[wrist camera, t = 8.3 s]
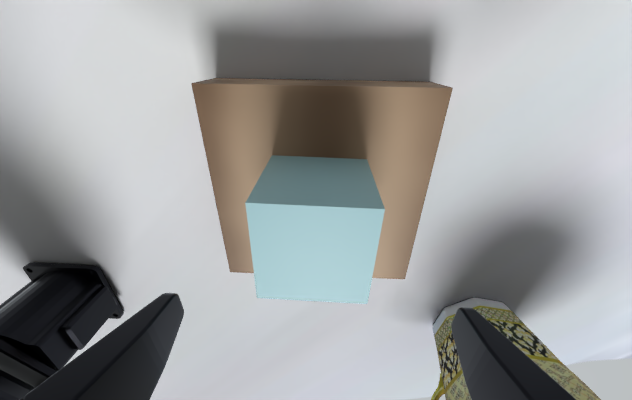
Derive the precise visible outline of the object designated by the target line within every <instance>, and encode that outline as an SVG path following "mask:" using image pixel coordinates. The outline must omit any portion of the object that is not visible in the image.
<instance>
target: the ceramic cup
mask: <svg viewBox="0 0 632 400" xmlns="http://www.w3.org/2000/svg"><path fill="white" fill-rule="evenodd" d="M460 307H466V308H473V309H475V310H476V311H477V312H478V313H480V314H481V315H482V316H483V317H484V318H485V319H486V320H487V321H489V322H490V323H491V324H492V325H493V326H494V327H495V328H496V329H498V330H499V331H500V332H501V333H502V334H503V335H504V336H505V337H507V338H508V339H509V340H510V341H511V342H512V343H513V344H514V345H516V346H517V347H518V348H519V349H520V350H521V351H522V352H523V353H525V354H526V355H527V356H528V357H529V358H530V359H531V360H532V361H534V362H535V363H536V364H537V365H538V366H539V367H540V368H541V369H543V370H544V371H545V372H546V373H547V374H548V375H549V376H550V377H552V378H553V379H554V380H555V381H556V382H557V383H558V384H559V385H561V386H562V387H563V388H564V389H565V390H566V391H567V392H568V393H570V394H571V395H572V396H573V397H574V398H575V399H576V400H601V399H600V398H599V397H598V396H597V395H596V394H595V393H594V392H593V391H592V390H591V389H590V388H589V387H588V386H586V384H585V383H584V382H582V381H581V380H580V379H579V378H578V377H577V376H576V375H575V374H574V373H573V372H571V371H570V370H569V369H568V368H567V367H566V366H565V365H564V364H563V363H562V362H560V360H559V359H558V358H557V357H556V356H555V355H554V354H553V353H552V352H551V351H550V350H549V349H548V348H547V347H546V346H545V345H544V344H543V343H542V342H541V341H540V340H539V339H538V338H537V337H536V336H535V335H534V334H533V333H532V332H531V331H530V330H529V329H528V328H527V327H526V326H525V325H524V323H523V322H522V321H521V320H520V319H519V318H518V317H517V316H516V315H515V314H514V313H513V312H512V311H511V310H510V309H509V308H508V307H507V306H506V305H505V304H504V303H502V302H499V301H493V300H487V299H481V298H470V299H468V300H465V301H462V302H459V303H456V304H454V305H451V306H448V307H445V308H444V309H443V311H442V312H441V314H440V315H439V317H438V318H437V320H436V321H435V323H434V325H433V332H434V337H435V341H436V346H437V351H438V358H439V364H440V369H441V374H440V381H439V385H438V388H437V389H436V391H435V392H434V394H433V396H432V399H431V400H439V398H440V397H441V396H442V395H443V394H445V397H446V400H472V399H471V396H470V394H469V391H468V388H467V385H466V382H465V379H464V375H463V371H462V368H461V364H460V360H459V356H458V353H457V349H456V345H455V341H454V338H453V334H452V329H451V324H452V321H453V319H454V316H455V314H456V312H457V310H458V308H460Z"/></svg>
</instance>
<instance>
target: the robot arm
mask: <svg viewBox="0 0 632 400" xmlns="http://www.w3.org/2000/svg"><path fill="white" fill-rule="evenodd" d="M23 269H24V271H25V272H26V274H27V275H28V276H29V278H30V279H31V282H30V283H28V284H27V285H26V286H25V287H23V288H22V289H21V290H19V291H18V292H17V293H15V294H14V295H13V296H12V297H10V298H9V299H8V300H6V301H5V302H4V303H2V304H1V305H0V400H150V397H151V395H152V393H153V391H154V389H155V387H156V385H157V383H158V380H159V378H160V376H161V374H162V372H163V370H164V367H165V365H166V362H167V360H168V357H169V355H170V352H171V349H172V346H173V344H174V341H175V338H176V335H177V332H178V330H179V327H180V324H181V321H182V319H183V315H184V309H183V306H182V304H181V301H180V298H179V296H178V295H177V294H175V293H164V294H162V295H161V296H159V297H158V298H157V299H155V300H154V301H152V302H151V303H150V304H148V305H147V306H146V307H144V308H143V309H142V310H140V311H139V312H138V313H136V314H135V315H133V316H132V317H131V318H129V319H128V320H127V321H125V322H124V323H123V324H121V325H120V326H119V327H117V328H116V329H114V330H113V331H112V332H110V333H109V334H108V335H106V336H105V337H104V338H102V339H101V340H100V341H98V342H97V343H95V344H94V345H93V346H91V347H90V348H89V349H87V350H86V351H85V352H83V353H82V354H81V355H79V356H78V357H76V358H75V359H74V360H72V361H71V362H70V363H68V364H67V365H66V366H65V364H66V363H67V362H68V361H69V360H70V359H71V357H72V356H73V355H74V354H75V353H76V351H77V350H81V349H83V348H84V347H85V346H86V344H87V343H88V342H89V341H90V340H91V338H92V337H93V336H94V335H95V334H96V332H97V331H98V330H99V329H100V328H101V326H102V325H103V324H104V323H105V322H106V320H107V319H108V318H116V319H118V318H121V316H122V315H123V314H124V312H123V310H122V308H121V306H120V304H119V303H118V301H117V299H116V297H115V295H114V293H113V291H112V290H111V288H110V286H109V284H108V282H107V280H106V278H105V276H104V275H103V273H102V271H101V269H100V268H99V267H97V266H94V265H71V264H47V263H29V264H27V265H26V266H24V267H23ZM451 329H452V334H453V338H454V341H455V345H456V349H457V353H458V356H459V360H460V364H461V368H462V371H463V375H464V379H465V382H466V385H467V388H468V391H469V394H470V396H471V399H472V400H576V399H575V398H574V397H573V396H572V395H571V394H570V393H568V392H567V391H566V390H565V389H564V388H563V387H562V386H561V385H559V384H558V383H557V382H556V381H555V380H554V379H553V378H552V377H550V376H549V375H548V374H547V373H546V372H545V371H544V370H543V369H541V368H540V367H539V366H538V365H537V364H536V363H535V362H534V361H532V360H531V359H530V358H529V357H528V356H527V355H526V354H525V353H523V352H522V351H521V350H520V349H519V348H518V347H517V346H516V345H514V344H513V343H512V342H511V341H510V340H509V339H508V338H507V337H505V336H504V335H503V334H502V333H501V332H500V331H499V330H498V329H496V328H495V327H494V326H493V325H492V324H491V323H490V322H489V321H487V320H486V319H485V318H484V317H483V316H482V315H481V314H480V313H478V312H477V311H476V310H475V309H473V308H466V307H460V308H458V310H457V312H456V314H455V316H454V319H453V321H452V324H451Z"/></svg>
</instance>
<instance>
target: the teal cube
mask: <svg viewBox="0 0 632 400" xmlns="http://www.w3.org/2000/svg"><path fill="white" fill-rule="evenodd" d="M245 204H246V213H247V221H248V229H249V237H250V245H251V253H252V261H253V269H254V278H255V286H256V294H257V298H269V299H287V300H305V301H323V302H341V303H359V304H367V303H368V298H369V292H370V287H371V282H372V276H373V271H374V265H375V260H376V255H377V249H378V244H379V238H380V233H381V228H382V222H383V217H384V212H385V208H384V205H383V202H382V200H381V197H380V194H379V191H378V188H377V186H376V183H375V180H374V177H373V175H372V172H371V169H370V166H369V163H368V161H367V159H348V158H324V157H300V156H276V155H272V156H271V158H270V160H269V161H268V163H267V165H266V167H265V169H264V170H263V172H262V174H261V176H260V177H259V179H258V181H257V183H256V185H255V186H254V188H253V190H252V192H251V193H250V195H249V197H248V199H247V201H246V202H245Z"/></svg>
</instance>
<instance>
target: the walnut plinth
mask: <svg viewBox="0 0 632 400" xmlns="http://www.w3.org/2000/svg"><path fill="white" fill-rule="evenodd" d="M192 88H193V93H194V98H195V103H196V108H197V113H198V117H199V122H200V127H201V132H202V137H203V142H204V147H205V152H206V156H207V161H208V166H209V171H210V176H211V181H212V186H213V191H214V195H215V200H216V205H217V210H218V215H219V220H220V225H221V230H222V234H223V239H224V244H225V249H226V254H227V259H228V264H229V268H230V272H241V273H254V269H253V261H252V253H251V245H250V237H249V229H248V221H247V213H246V204H245V202H246V201H247V199H248V197H249V195H250V193H251V192H252V190H253V188H254V186H255V185H256V183H257V181H258V179H259V177H260V176H261V174H262V172H263V170H264V169H265V167H266V165H267V163H268V161H269V160H270V158H271V156H272V155H276V156H300V157H324V158H348V159H367V161H368V163H369V166H370V169H371V172H372V175H373V177H374V180H375V183H376V186H377V188H378V191H379V194H380V197H381V200H382V202H383V205H384V208H385V212H384V217H383V222H382V228H381V233H380V238H379V244H378V249H377V255H376V260H375V265H374V271H373V276H372V278H387V279H405V276H406V272H407V268H408V264H409V260H410V256H411V252H412V248H413V244H414V240H415V236H416V232H417V228H418V224H419V220H420V216H421V212H422V208H423V204H424V200H425V196H426V192H427V188H428V184H429V180H430V176H431V172H432V168H433V164H434V160H435V156H436V152H437V148H438V144H439V140H440V136H441V132H442V128H443V124H444V120H445V116H446V112H447V108H448V104H449V100H450V96H451V92H452V88H451V87H447V86H444V85H440V84H437V83H433V82H420V81H361V80H301V79H241V78H214V79H209V80H205V81H200V82H196V83H192Z"/></svg>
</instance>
